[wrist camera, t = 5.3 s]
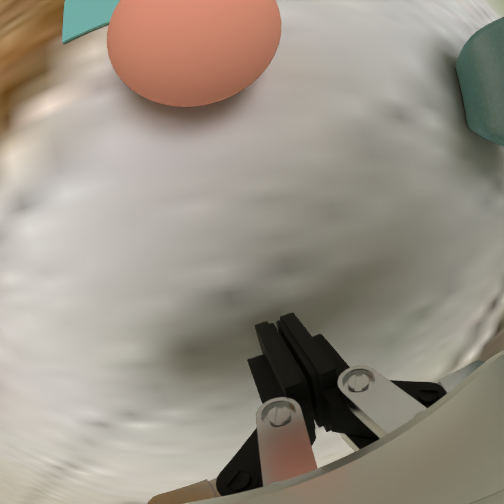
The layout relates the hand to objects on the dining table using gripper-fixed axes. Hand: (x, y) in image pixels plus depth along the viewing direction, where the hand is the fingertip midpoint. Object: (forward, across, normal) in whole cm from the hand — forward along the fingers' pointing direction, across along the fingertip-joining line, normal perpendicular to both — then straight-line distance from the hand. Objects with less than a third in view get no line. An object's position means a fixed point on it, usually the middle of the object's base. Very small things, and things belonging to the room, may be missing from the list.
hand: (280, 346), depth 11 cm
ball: (-1, 0, -12) cm, 12 cm away
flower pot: (+2, -19, -10) cm, 22 cm away
